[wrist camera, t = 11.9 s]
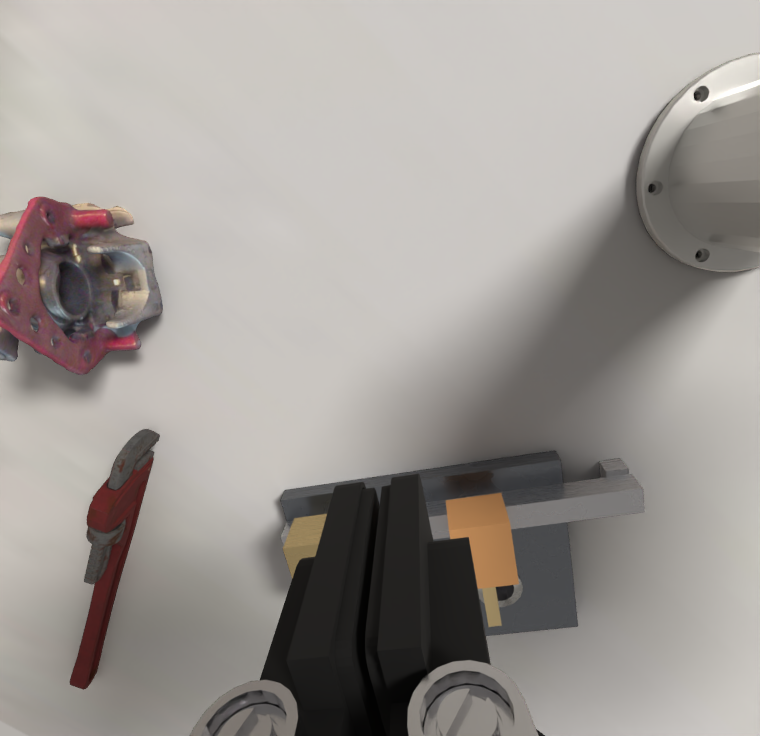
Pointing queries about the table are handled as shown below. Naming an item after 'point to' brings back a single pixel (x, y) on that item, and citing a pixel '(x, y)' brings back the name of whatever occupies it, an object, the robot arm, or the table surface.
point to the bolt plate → (527, 541)
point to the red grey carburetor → (73, 283)
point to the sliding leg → (486, 544)
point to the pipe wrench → (111, 544)
